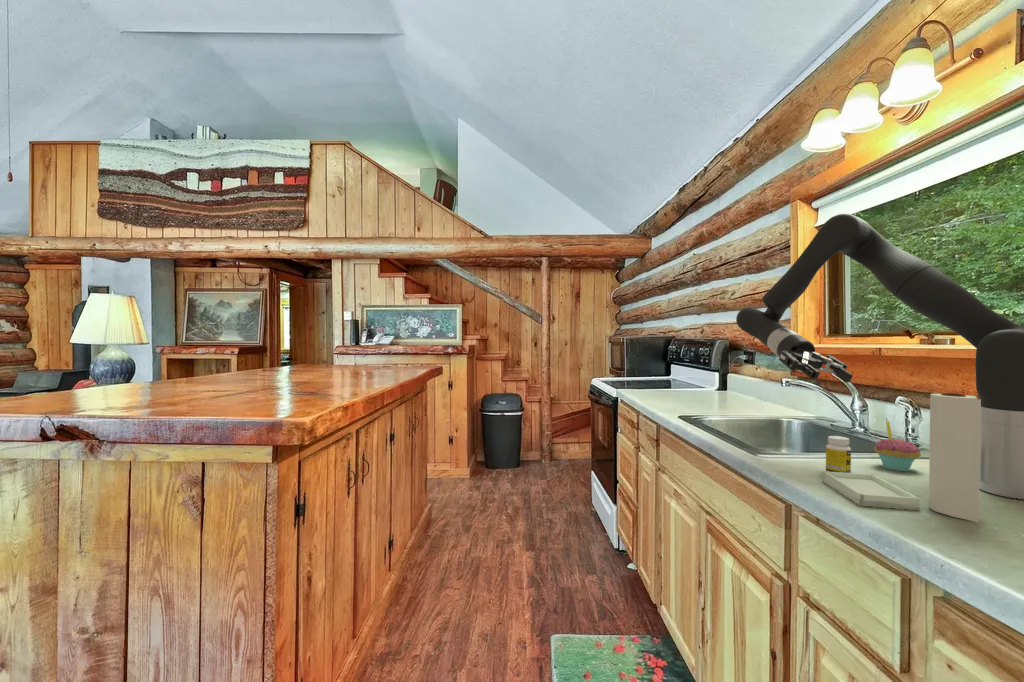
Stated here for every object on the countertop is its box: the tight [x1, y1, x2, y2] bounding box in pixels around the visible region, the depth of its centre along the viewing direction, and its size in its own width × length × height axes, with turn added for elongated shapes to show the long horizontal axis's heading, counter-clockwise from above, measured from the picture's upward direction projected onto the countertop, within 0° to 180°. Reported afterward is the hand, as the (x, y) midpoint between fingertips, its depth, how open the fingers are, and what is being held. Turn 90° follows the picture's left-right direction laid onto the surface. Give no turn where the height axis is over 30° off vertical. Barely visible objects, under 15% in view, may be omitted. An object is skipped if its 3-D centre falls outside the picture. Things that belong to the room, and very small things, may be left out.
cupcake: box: [873, 417, 922, 472], centre depth 110 cm, size 9×8×12 cm
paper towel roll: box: [928, 392, 981, 524], centre depth 82 cm, size 7×6×21 cm
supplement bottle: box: [825, 435, 852, 473], centre depth 105 cm, size 5×5×8 cm
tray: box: [822, 470, 921, 512], centre depth 91 cm, size 10×15×2 cm, turn 168°
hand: (833, 377), depth 106 cm, fingers open, 8 cm apart
